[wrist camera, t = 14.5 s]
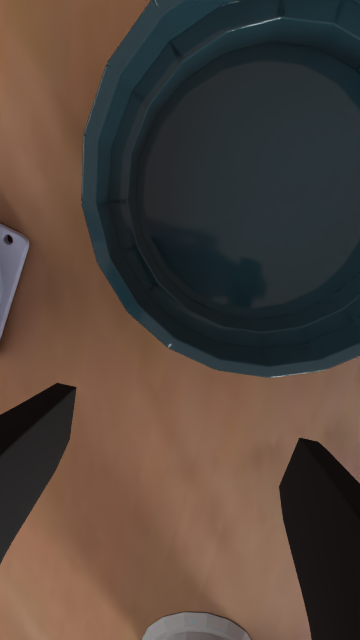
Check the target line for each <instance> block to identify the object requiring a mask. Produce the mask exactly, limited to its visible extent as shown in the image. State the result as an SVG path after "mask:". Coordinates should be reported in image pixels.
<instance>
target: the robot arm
mask: <svg viewBox="0 0 360 640" xmlns="http://www.w3.org/2000/svg"><path fill="white" fill-rule="evenodd" d="M8 235H10V236H12V238H13V242H12V243H10V242H9V241H8V239H7V236H8ZM28 249H29V240H28V239H27V237H26V236H25V235H23V234H21V233H19V232H17V231H15V230H13V229H11V228H9V227H6V226H4V225H2V224H0V340H1V336H2V333H3V330H4V327H5V323H6V320H7V317H8V314H9V310H10V307H11V304H12V301H13V297H14V294H15V291H16V288H17V284H18V281H19V278H20V275H21V271H22V268H23V265H24V262H25V258H26V255H27V252H28ZM75 394H76V387H73V386H69V385H65V384H60V383H56V384H55V385H53V386H51V387H49V388H47V389H46V390H44V391H42V392H40V393H39V394H37V395H35V396H34V397H32V398H30V399H28V400H27V401H25V402H23V403H21V404H20V405H18V406H16V407H14V408H12V409H10V410H9V411H7V412H5V413H3V414H1V415H0V564H1V562H2V560H3V558H4V556H5V554H6V552H7V550H8V549H9V547H10V545H11V543H12V541H13V540H14V538H15V536H16V535H17V533H18V531H19V530H20V528H21V526H22V525H23V523H24V521H25V520H26V518H27V517H28V515H29V513H30V512H31V510H32V508H33V507H34V505H35V503H36V502H37V500H38V498H39V497H40V495H41V494H42V492H43V490H44V489H45V487H46V485H47V484H48V482H49V480H50V479H51V477H52V475H53V474H54V472H55V470H56V468H57V466H58V464H59V462H60V460H61V458H62V456H63V453H64V451H65V449H66V447H67V444H68V442H69V440H70V433H71V425H72V417H73V410H74V402H75ZM279 490H280V499H281V507H282V514H283V521H284V525H285V529H286V533H287V537H288V541H289V545H290V549H291V553H292V557H293V560H294V564H295V568H296V572H297V576H298V580H299V583H300V587H301V591H302V595H303V599H304V603H305V607H306V612H307V616H308V621H309V626H310V632H311V638H312V640H360V483H359V482H358V481H357V480H356V479H355V478H354V477H353V476H352V475H351V474H350V473H349V472H348V471H347V470H346V469H345V468H344V467H343V466H342V465H341V464H340V463H339V462H338V461H337V460H336V459H335V457H334V456H333V455H332V454H331V453H330V452H329V451H328V450H327V449H326V448H324V447H323V446H322V445H321V444H320V443H319V442H317V441H312V440H308V439H303V438H299V440H298V442H297V445H296V447H295V450H294V452H293V454H292V457H291V459H290V462H289V464H288V466H287V469H286V471H285V474H284V476H283V478H282V481H281V483H280V486H279Z"/></svg>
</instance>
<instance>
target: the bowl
mask: <svg viewBox="0 0 360 640" xmlns="http://www.w3.org/2000/svg"><path fill="white" fill-rule="evenodd" d="M107 64H108V65H106V67H105V70H104V73H103V76H102V79H101V82H100V85H99V88H98V91H97V94H96V97H95V100H94V103H93V106H92V109H91V112H90V115H89V119H88V122H87V125H86V128H85V131H84V136H83V161H82V196H81V201H82V208H83V212H84V216H85V219H86V223H87V227H88V231H89V234H90V238H91V242H92V246H93V250H94V253H95V257H96V261H97V263H98V265H99V267H100V269H101V270H102V272H103V273H104V275H105V277H106V278H107V280H108V282H109V283H110V285H111V286H112V288H113V290H114V291H115V293H116V295H117V296H118V298H119V299H120V301H121V303H122V304H123V306H124V308H125V309H126V311H128V313H129V314H130V315H131V316H132V317H133V318H135V319H136V320H137V321H138V322H139V323H140V324H141V325H143V326H144V327H145V328H146V329H147V330H148V331H149V332H150V333H152V334H153V335H154V336H155V337H156V338H157V339H158V340H159V341H161V342H162V343H163V344H164V345H165V346H166V347H168V348H169V349H171V350H174V351H176V352H178V353H180V354H182V355H184V356H187V357H189V358H191V359H193V360H195V361H197V362H200V363H202V364H204V365H206V366H208V367H210V368H213V369H215V370H219V371H226V372H233V373H239V374H246V375H253V376H260V377H267V378H268V377H269V378H273V377H280V376H288V375H296V374H304V373H311V372H319V371H323V370H327V369H329V368H331V367H334V366H336V365H339V364H341V363H343V362H346V361H348V360H351V359H353V358H355V357H358V356H360V0H151V1H150V2H149V4H148V5H147V7H146V8H145V10H144V11H143V12H142V14H141V15H140V17H139V18H138V19H137V21H136V22H135V24H134V25H133V27H132V28H131V29H130V31H129V32H128V34H127V35H126V37H125V38H124V39H123V41H122V42H121V44H120V45H119V46H118V48H117V49H116V51H115V52H114V54H113V55H112V56H111V58H110V59H109V61H108V63H107Z"/></svg>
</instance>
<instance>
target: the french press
mask: <svg viewBox="0 0 360 640" xmlns="http://www.w3.org/2000/svg"><path fill="white" fill-rule="evenodd" d="M142 640H251V639H250V637H249V636H248V634H247V633H246V631H244V630H243V629H242V628H240V627H239V626H237V625H236V624H234V623H233V622H231V621H230V620H228V619H224V618H221V617H218V616H215V615H211V614H208V613H191V612H183V613H178V614H174V615H170V616H166V617H162V618H161V619H159V620H158V621H156V622H155V623H153V624H152V625H150V626H149V627H148V628H147V630H146V632H145V634H144V636H143V638H142Z"/></svg>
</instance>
